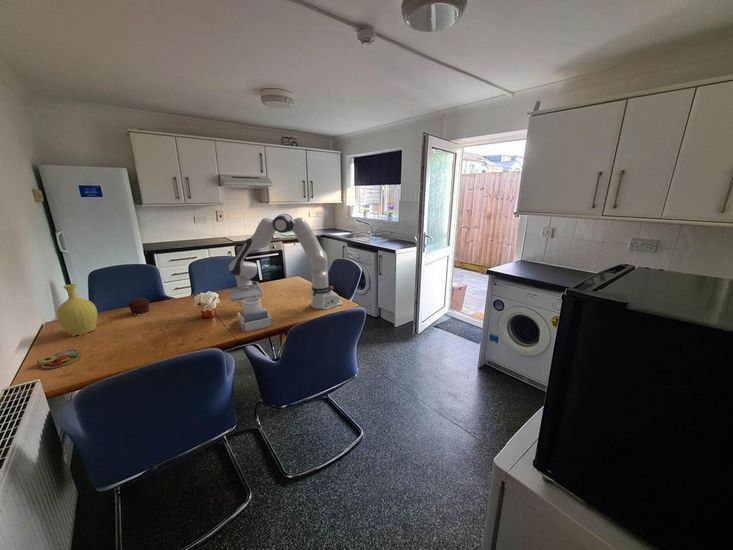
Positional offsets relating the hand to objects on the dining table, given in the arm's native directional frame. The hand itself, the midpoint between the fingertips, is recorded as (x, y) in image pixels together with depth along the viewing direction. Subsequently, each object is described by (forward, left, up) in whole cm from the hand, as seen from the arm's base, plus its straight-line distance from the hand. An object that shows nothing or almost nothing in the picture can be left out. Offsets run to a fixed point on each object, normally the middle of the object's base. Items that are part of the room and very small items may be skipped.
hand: (248, 304), depth 191 cm
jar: (0, +16, -7) cm, 17 cm away
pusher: (0, +22, -6) cm, 23 cm away
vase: (+87, -21, -7) cm, 90 cm away
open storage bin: (0, +16, -6) cm, 18 cm away
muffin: (+62, -38, -7) cm, 73 cm away
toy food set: (+87, +14, -7) cm, 88 cm away
